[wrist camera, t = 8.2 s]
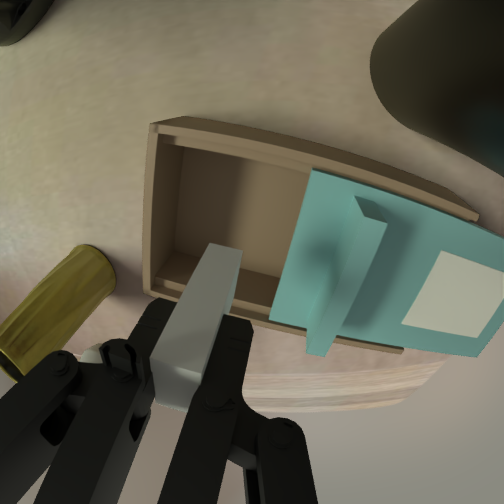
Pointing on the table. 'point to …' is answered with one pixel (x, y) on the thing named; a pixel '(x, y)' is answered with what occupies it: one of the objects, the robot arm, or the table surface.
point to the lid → (389, 272)
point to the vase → (54, 310)
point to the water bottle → (447, 75)
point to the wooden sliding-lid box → (246, 206)
